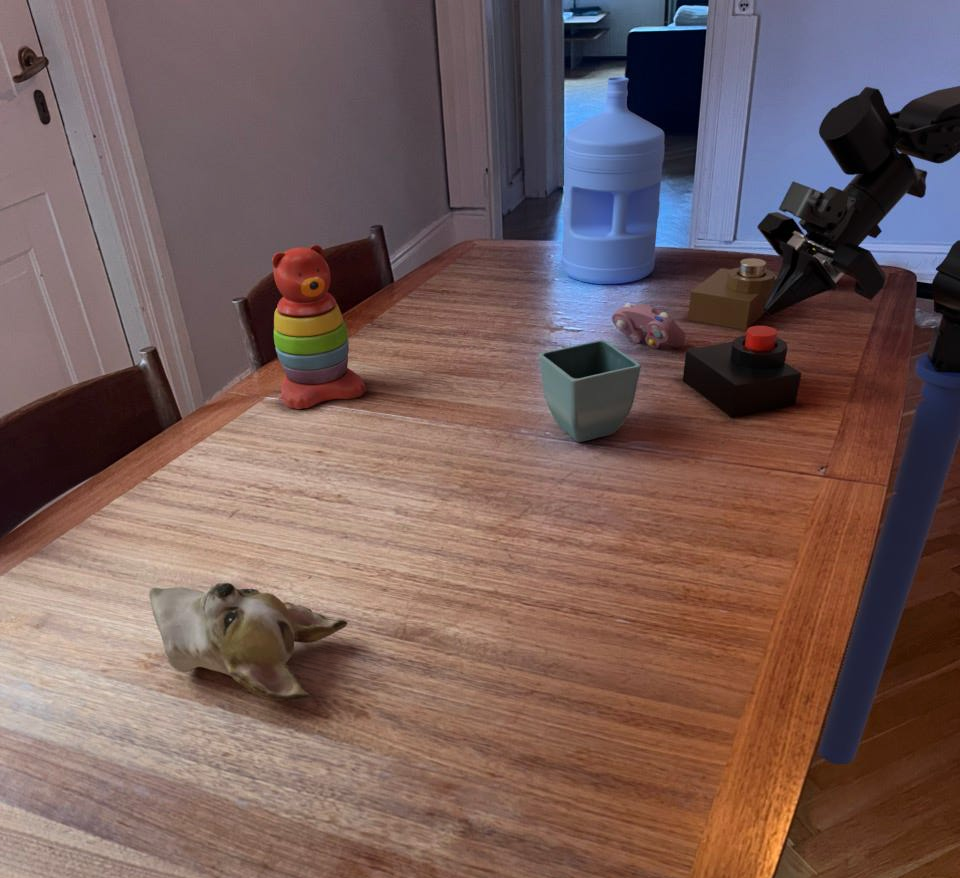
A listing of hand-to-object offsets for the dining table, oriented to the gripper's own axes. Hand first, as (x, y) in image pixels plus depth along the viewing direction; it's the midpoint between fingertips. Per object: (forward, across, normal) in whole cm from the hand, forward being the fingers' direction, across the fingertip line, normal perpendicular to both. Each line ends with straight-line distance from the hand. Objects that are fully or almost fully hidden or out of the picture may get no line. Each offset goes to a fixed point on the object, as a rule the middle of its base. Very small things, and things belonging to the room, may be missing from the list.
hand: (766, 311), depth 111 cm
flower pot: (+24, +2, -10) cm, 27 cm away
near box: (+9, 0, +5) cm, 10 cm away
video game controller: (+11, -19, +3) cm, 22 cm away
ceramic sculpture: (+56, +31, -42) cm, 76 cm away
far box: (-2, -25, +16) cm, 30 cm away
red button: (+3, 0, +3) cm, 4 cm away
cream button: (-6, -23, +13) cm, 27 cm away
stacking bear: (+44, -23, -29) cm, 57 cm away
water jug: (+4, -51, +10) cm, 52 cm away
